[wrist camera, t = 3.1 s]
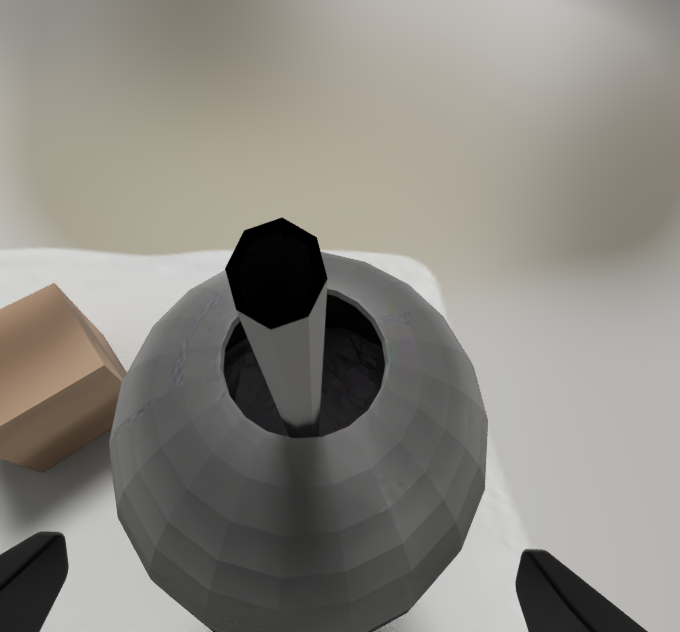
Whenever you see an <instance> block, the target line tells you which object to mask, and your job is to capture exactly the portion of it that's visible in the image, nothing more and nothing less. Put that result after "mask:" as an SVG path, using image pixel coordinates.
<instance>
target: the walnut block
mask: <svg viewBox="0 0 680 632" xmlns="http://www.w3.org/2000/svg"><path fill="white" fill-rule="evenodd" d="M126 374H127V372H126V371H125V369H124V367H123V366H122V364H121V363H120V361H119V360H118V358H117V356H116V355H115V353H114V352H113V350H112V348H111V347H110V345H109V344H108V342H107V340H106V339H105V337H104V336H103V335H102V333H101V332H100V331H99V330H98V329H97V328H96V327H95V326H94V325H93V324H92V323H91V322H90V321H89V320H88V318H87V317H86V316H85V315H84V314H83V313H82V312H81V311H80V310H79V309H78V308H77V307H76V306H75V305H74V303H73V302H72V301H71V300H70V299H69V298H68V297H67V296H66V295H65V294H64V293H63V292H62V291H61V290H60V288H59V287H58V286H57V285H56V284H55V283H53V284H51V285H49V286H47V287H45V288H43V289H41V290H39V291H37V292H35V293H33V294H30V295H28V296H26V297H24V298H22V299H20V300H18V301H16V302H14V303H12V304H10V305H8V306H6V307H4V308H2V309H0V459H2V460H5V461H8V462H11V463H15V464H18V465H21V466H24V467H27V468H31V469H34V470H37V471H40V472H45V471H46V470H48V469H49V468H51V467H53V466H54V465H56V464H57V463H59V462H60V461H62V460H63V459H65V458H66V457H68V456H69V455H71V454H73V453H74V452H76V451H77V450H79V449H80V448H82V447H83V446H85V445H86V444H88V443H89V442H91V441H93V440H94V439H96V438H97V437H99V436H100V435H102V434H103V433H105V432H106V431H108V430H109V429H111V428H112V426H113V421H114V416H115V412H116V407H117V402H118V397H119V392H120V388H121V383H122V381H123V379H124V378H125V376H126Z"/></svg>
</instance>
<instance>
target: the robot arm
mask: <svg viewBox="0 0 680 632" xmlns="http://www.w3.org/2000/svg"><path fill="white" fill-rule="evenodd" d="M67 574H68V557H67V549H66V541H65V536H64V535H63V534H62V533H60V532H39V533H36V534H34V535H33V536H31V537H29V538H28V539H26V540H24V541H23V542H21V543H19V544H17V545H16V546H14V547H12V548H11V549H9V550H7V551H6V552H4V553H2V554H1V555H0V632H40V630H41V628H42V626H43V624H44V622H45V620H46V618H47V616H48V614H49V612H50V610H51V608H52V606H53V604H54V602H55V600H56V598H57V596H58V594H59V592H60V590H61V588H62V586H63V584H64V582H65V580H66V577H67ZM516 592H517V596H518V600H519V603H520V606H521V609H522V612H523V615H524V618H525V622H526V625H527V628H528V631H529V632H647V631H646V630H645V629H644V628H642V627H641V626H640V625H639V624H637V623H636V622H635V621H633V620H632V619H631V618H630V617H629V616H627V615H626V614H625V613H624V612H622V611H621V610H620V609H619V608H617V607H616V606H615V605H614V604H612V603H611V602H610V601H609V600H607V599H606V598H605V597H604V596H602V595H601V594H600V593H599V592H597V591H596V590H595V589H594V588H592V587H591V586H590V585H589V584H587V583H586V582H585V581H584V580H582V579H581V578H580V577H579V576H577V575H576V574H575V573H574V572H572V571H571V570H570V569H569V568H567V567H566V566H565V565H563V564H562V563H561V562H560V561H559V560H557V559H556V558H555V557H554V556H552V555H551V554H550V553H548V552H547V551H545V550H540V549H525V550H524V551H523V552H522V555H521V559H520V564H519V568H518V572H517V577H516Z"/></svg>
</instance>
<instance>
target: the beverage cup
mask: <svg viewBox="0 0 680 632" xmlns="http://www.w3.org/2000/svg"><path fill="white" fill-rule="evenodd" d="M487 431H488V419H487V415H486V411H485V407H484V404H483V400H482V396H481V392H480V389H479V385H478V382H477V377H476V374H475V370H474V367H473V365H472V363H471V361H470V359H469V358H468V356H467V354H466V353H465V351H464V349H463V348H462V346H461V344H460V343H459V341H458V340H457V338H456V336H455V335H454V333H453V331H452V330H451V328H450V326H449V325H448V323H447V322H446V320H445V318H444V317H443V316H442V315H441V314H440V313H439V312H438V311H437V310H436V309H435V308H434V307H433V306H431V305H430V304H429V303H428V302H427V301H426V300H425V299H424V298H423V297H422V296H421V295H419V294H418V293H417V292H416V291H415V290H414V289H413V288H412V287H411V286H410V285H409V284H407V283H405V282H403V281H401V280H399V279H397V278H395V277H393V276H391V275H389V274H387V273H385V272H384V271H382V270H380V269H378V268H376V267H374V266H372V265H370V264H368V263H366V262H363V261H358V260H354V259H350V258H345V257H341V256H337V255H333V254H328V253H324V252H320V248H319V244H318V240H317V237H315V236H313V235H312V234H310V233H308V232H306V231H305V230H303V229H301V228H299V227H298V226H296V225H294V224H293V223H291V222H289V221H287V220H286V219H284V218H279V219H277V220H274V221H271V222H268V223H265V224H262V225H259V226H256V227H253V228H250V229H247V230H245V231H244V232H243V234H242V236H241V238H240V240H239V242H238V244H237V246H236V248H235V250H234V252H233V254H232V256H231V258H230V260H229V262H228V264H227V266H226V268H225V270H224V271H223V272H221V273H219V274H217V275H216V276H214V277H212V278H210V279H209V280H207V281H205V282H203V283H201V284H200V285H198V286H196V287H194V288H193V289H191V290H189V291H188V292H187V293H186V294H185V295H184V296H183V297H182V298H181V299H180V300H179V301H178V302H177V303H176V304H175V305H174V306H173V307H172V308H171V309H170V310H169V311H168V312H167V313H166V314H165V315H164V316H163V317H162V318H161V319H160V320H159V321H158V322H157V323H156V324H155V325H154V326H153V327H152V329H151V331H150V333H149V334H148V336H147V338H146V340H145V342H144V343H143V345H142V347H141V349H140V351H139V352H138V354H137V356H136V358H135V360H134V361H133V363H132V365H131V367H130V369H129V370H128V372H127V374H126V376H125V378H124V379H123V381H122V383H121V388H120V392H119V397H118V402H117V407H116V412H115V416H114V421H113V426H112V431H111V436H110V441H109V450H110V460H111V468H112V475H113V483H114V491H115V498H116V506H117V514H118V519H119V521H120V522H121V524H122V526H123V528H124V530H125V532H126V534H127V536H128V537H129V539H130V541H131V543H132V545H133V547H134V549H135V551H136V552H137V554H138V556H139V558H140V560H141V562H142V564H143V566H144V567H145V569H146V571H147V573H148V575H149V577H150V579H151V580H152V581H153V582H154V583H155V584H156V585H158V586H159V587H160V588H161V589H162V590H164V591H165V592H166V593H167V594H168V595H169V596H171V597H172V598H173V599H174V600H175V601H177V602H178V603H179V604H180V605H181V606H183V607H184V608H185V609H186V610H187V611H189V612H190V613H191V614H192V615H194V616H195V617H196V618H197V619H198V620H200V621H201V622H202V623H203V624H204V625H206V626H207V627H208V628H209V629H210V630H212V631H213V632H373V631H375V630H377V629H378V628H380V627H382V626H384V625H386V624H388V623H389V622H391V621H393V620H395V619H397V618H399V617H400V616H402V615H404V614H406V613H407V612H408V611H409V610H410V609H411V608H412V607H413V606H414V604H415V603H416V602H417V601H418V600H419V599H420V598H421V596H422V595H423V594H424V593H425V592H426V591H427V589H428V588H429V587H430V586H431V585H432V584H433V582H434V581H435V580H436V579H437V578H438V577H439V575H440V574H441V573H442V572H443V571H444V570H445V568H446V567H447V566H448V565H449V564H450V563H451V562H452V560H453V559H454V558H455V557H456V556H457V554H458V553H459V552H460V551H461V549H462V546H463V544H464V541H465V539H466V536H467V534H468V531H469V528H470V526H471V523H472V521H473V518H474V515H475V513H476V510H477V508H478V505H479V503H480V500H481V497H482V495H483V492H484V490H485V472H486V451H487Z"/></svg>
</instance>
